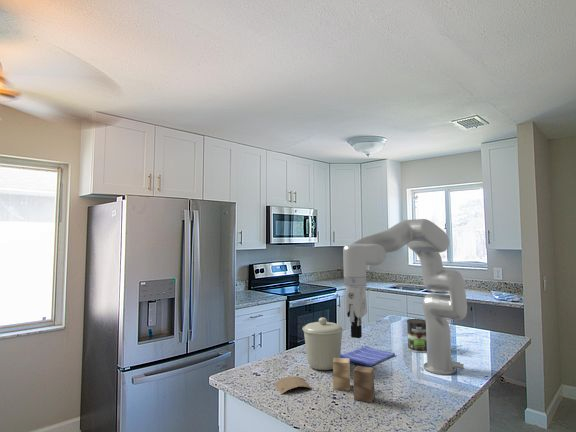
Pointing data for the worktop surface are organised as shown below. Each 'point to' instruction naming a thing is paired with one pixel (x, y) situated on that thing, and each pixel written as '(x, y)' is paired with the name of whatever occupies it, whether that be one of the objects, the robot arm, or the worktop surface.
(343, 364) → the oak block
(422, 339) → the coffee can
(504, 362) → the worktop surface
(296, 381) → the clay tablet
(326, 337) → the canister
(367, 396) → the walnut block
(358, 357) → the dish towel
